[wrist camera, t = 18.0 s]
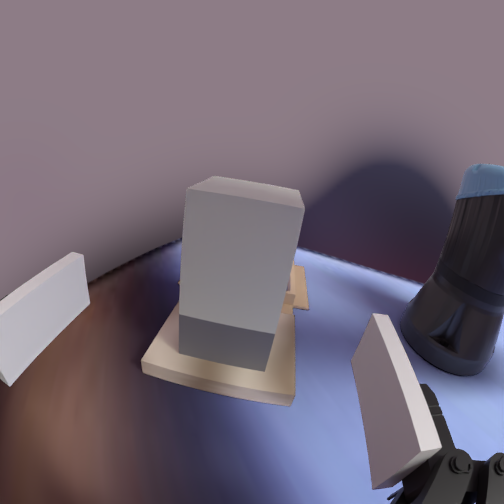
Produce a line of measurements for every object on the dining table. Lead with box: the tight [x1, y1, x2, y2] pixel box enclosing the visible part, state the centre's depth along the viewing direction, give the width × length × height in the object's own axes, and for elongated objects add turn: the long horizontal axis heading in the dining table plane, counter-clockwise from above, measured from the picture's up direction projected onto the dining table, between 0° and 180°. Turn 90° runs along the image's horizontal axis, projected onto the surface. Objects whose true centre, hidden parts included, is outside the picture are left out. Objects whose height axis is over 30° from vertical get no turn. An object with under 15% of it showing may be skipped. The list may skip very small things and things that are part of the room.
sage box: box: [179, 176, 305, 372], centre depth 21 cm, size 7×7×13 cm
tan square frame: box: [178, 260, 309, 315], centre depth 39 cm, size 16×16×2 cm
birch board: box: [141, 302, 295, 406], centre depth 24 cm, size 12×11×2 cm
